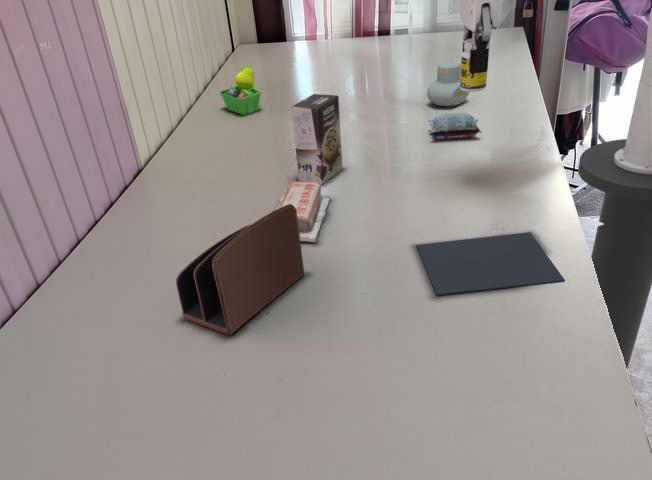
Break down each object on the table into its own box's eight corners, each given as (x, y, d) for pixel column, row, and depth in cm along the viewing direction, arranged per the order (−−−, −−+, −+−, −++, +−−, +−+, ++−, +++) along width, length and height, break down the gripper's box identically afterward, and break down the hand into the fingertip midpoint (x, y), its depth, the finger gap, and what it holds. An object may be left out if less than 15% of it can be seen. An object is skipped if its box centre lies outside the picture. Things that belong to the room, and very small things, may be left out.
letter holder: (305, 274, 108) (297, 197, 99) (230, 337, 96) (214, 255, 87) (259, 261, 113) (247, 187, 104) (183, 319, 101) (162, 240, 92)
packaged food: (427, 129, 156) (428, 109, 152) (477, 127, 154) (479, 106, 151) (429, 143, 149) (430, 122, 146) (481, 140, 147) (483, 119, 144)
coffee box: (322, 185, 136) (316, 108, 126) (297, 181, 139) (289, 105, 129) (344, 169, 142) (339, 94, 132) (319, 165, 145) (313, 92, 135)
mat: (529, 234, 111) (530, 232, 111) (564, 282, 99) (565, 279, 98) (416, 246, 112) (416, 244, 111) (436, 296, 99) (436, 294, 99)
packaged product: (280, 178, 129) (329, 178, 127) (283, 200, 132) (330, 200, 130) (260, 219, 115) (314, 219, 113) (263, 243, 118) (316, 243, 116)
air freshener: (446, 112, 164) (448, 71, 158) (422, 106, 170) (422, 67, 164) (472, 100, 170) (475, 60, 163) (448, 95, 175) (450, 56, 169)
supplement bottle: (454, 89, 120) (456, 41, 115) (471, 83, 122) (474, 35, 117) (474, 94, 117) (477, 44, 112) (491, 87, 119) (495, 38, 114)
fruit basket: (221, 109, 184) (214, 68, 177) (246, 101, 188) (240, 61, 181) (242, 117, 177) (235, 75, 170) (268, 109, 180) (262, 67, 174)
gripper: (519, -43, 99) (508, 78, 110) (490, -55, 113) (482, 54, 124) (471, -38, 99) (464, 83, 111) (448, -50, 113) (444, 59, 124)
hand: (474, 67), depth 117 cm, fingers closed on supplement bottle, 4 cm apart
